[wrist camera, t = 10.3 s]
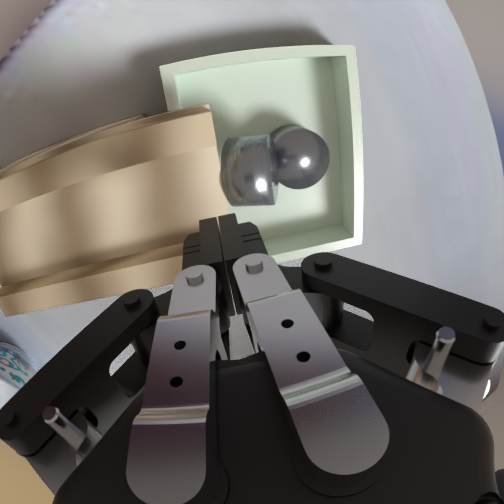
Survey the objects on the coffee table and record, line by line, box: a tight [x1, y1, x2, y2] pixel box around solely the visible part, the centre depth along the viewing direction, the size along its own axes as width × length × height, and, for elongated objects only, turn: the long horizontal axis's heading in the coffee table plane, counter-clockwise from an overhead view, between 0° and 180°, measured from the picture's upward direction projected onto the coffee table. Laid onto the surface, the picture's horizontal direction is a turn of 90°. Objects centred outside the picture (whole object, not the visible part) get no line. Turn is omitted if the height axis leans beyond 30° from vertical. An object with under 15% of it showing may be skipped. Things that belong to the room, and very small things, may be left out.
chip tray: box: [159, 45, 363, 263], centre depth 22 cm, size 13×16×3 cm
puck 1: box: [221, 134, 279, 207], centre depth 19 cm, size 4×4×2 cm
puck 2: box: [270, 124, 330, 189], centre depth 22 cm, size 4×4×2 cm
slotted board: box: [0, 103, 229, 317], centre depth 19 cm, size 18×10×8 cm, turn 98°
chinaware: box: [0, 342, 36, 409], centre depth 26 cm, size 15×15×8 cm
